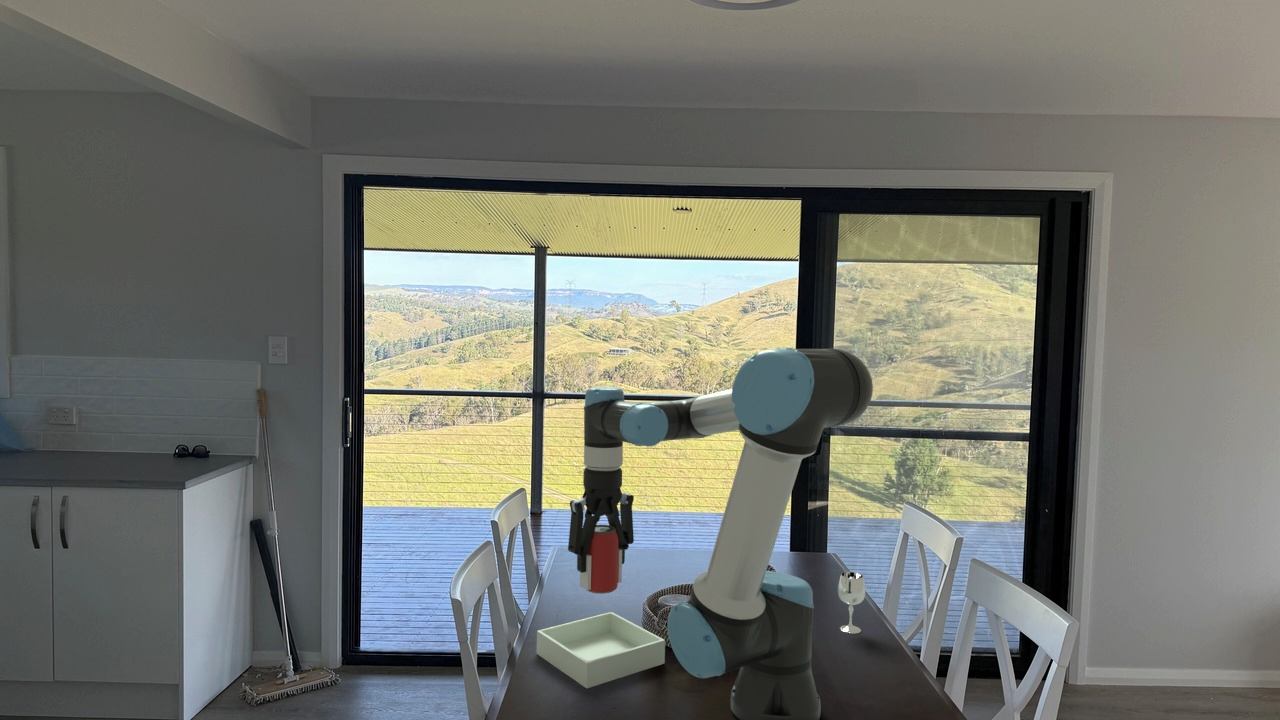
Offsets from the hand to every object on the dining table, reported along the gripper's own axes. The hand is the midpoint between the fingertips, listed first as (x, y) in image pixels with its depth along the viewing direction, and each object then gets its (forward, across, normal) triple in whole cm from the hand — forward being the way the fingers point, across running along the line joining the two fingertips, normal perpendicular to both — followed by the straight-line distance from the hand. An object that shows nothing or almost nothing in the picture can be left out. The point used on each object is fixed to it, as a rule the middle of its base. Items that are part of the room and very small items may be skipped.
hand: (600, 584), depth 150 cm
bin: (+15, 0, 0) cm, 15 cm away
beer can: (+1, 0, 0) cm, 1 cm away
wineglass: (+15, -53, +19) cm, 58 cm away
